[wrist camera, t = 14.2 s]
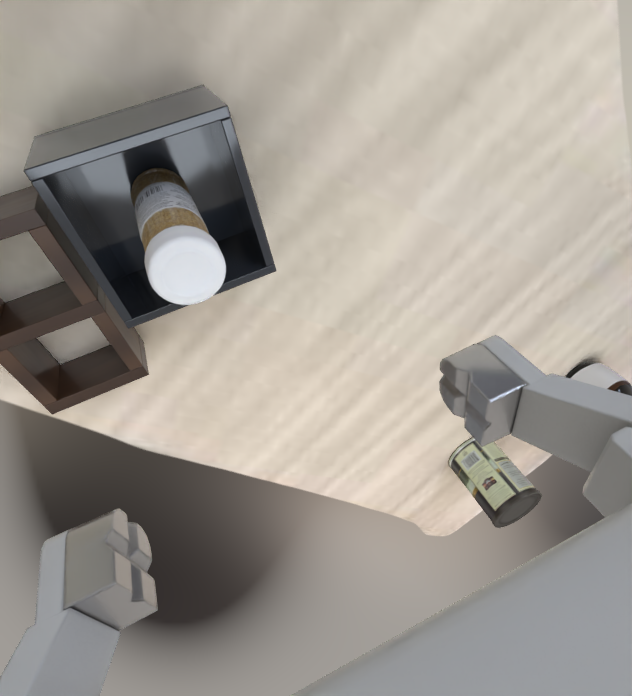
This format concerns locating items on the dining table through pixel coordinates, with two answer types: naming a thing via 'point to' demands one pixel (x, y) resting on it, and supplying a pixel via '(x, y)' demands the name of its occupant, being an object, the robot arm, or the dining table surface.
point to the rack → (61, 317)
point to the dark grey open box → (116, 184)
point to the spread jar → (600, 377)
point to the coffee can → (494, 482)
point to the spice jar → (175, 239)
